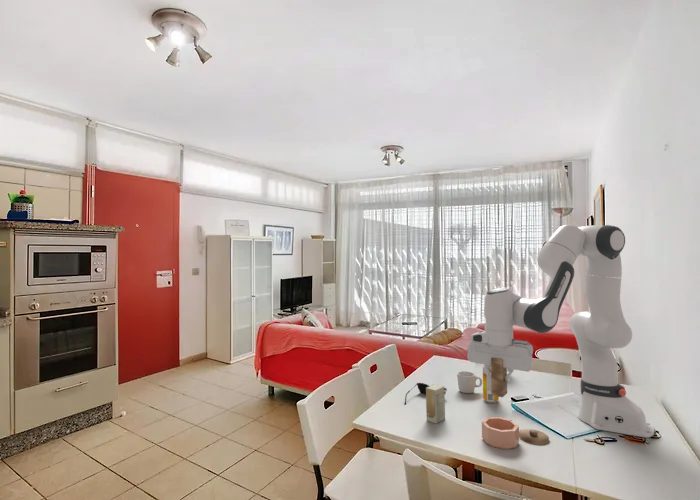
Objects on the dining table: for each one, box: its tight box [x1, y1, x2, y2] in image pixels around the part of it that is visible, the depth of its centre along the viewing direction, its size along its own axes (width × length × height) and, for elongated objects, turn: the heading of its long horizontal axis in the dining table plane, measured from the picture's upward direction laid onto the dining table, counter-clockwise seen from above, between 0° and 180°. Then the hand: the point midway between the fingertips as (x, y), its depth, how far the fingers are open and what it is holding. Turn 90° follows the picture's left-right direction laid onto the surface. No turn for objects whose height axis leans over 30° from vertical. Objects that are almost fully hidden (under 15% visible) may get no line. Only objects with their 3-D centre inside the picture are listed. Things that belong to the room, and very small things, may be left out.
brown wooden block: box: [491, 358, 508, 398], centre depth 124 cm, size 4×5×12 cm
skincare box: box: [425, 383, 446, 425], centre depth 140 cm, size 6×4×12 cm
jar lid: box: [519, 428, 550, 445], centre depth 126 cm, size 9×9×2 cm
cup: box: [456, 370, 483, 394], centre depth 169 cm, size 11×8×8 cm
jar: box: [481, 416, 520, 450], centre depth 124 cm, size 11×11×6 cm
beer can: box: [482, 364, 500, 404], centre depth 158 cm, size 6×6×15 cm
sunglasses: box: [404, 382, 448, 406], centre depth 159 cm, size 14×16×5 cm
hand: (499, 379), depth 124 cm, fingers closed on brown wooden block, 3 cm apart
